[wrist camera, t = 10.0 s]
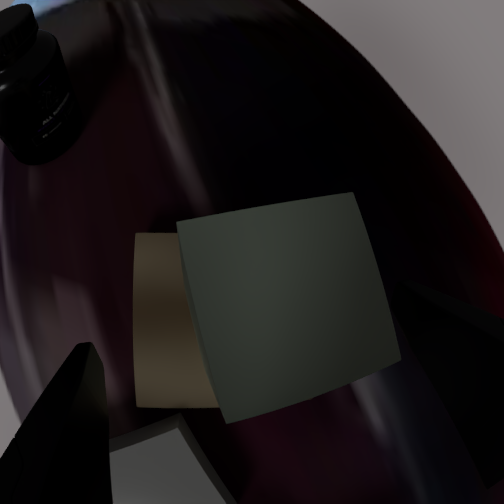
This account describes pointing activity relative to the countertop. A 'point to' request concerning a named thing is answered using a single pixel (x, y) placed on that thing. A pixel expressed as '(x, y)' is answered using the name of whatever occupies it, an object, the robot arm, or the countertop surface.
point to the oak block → (165, 330)
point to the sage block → (285, 302)
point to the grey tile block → (163, 467)
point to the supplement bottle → (34, 90)
